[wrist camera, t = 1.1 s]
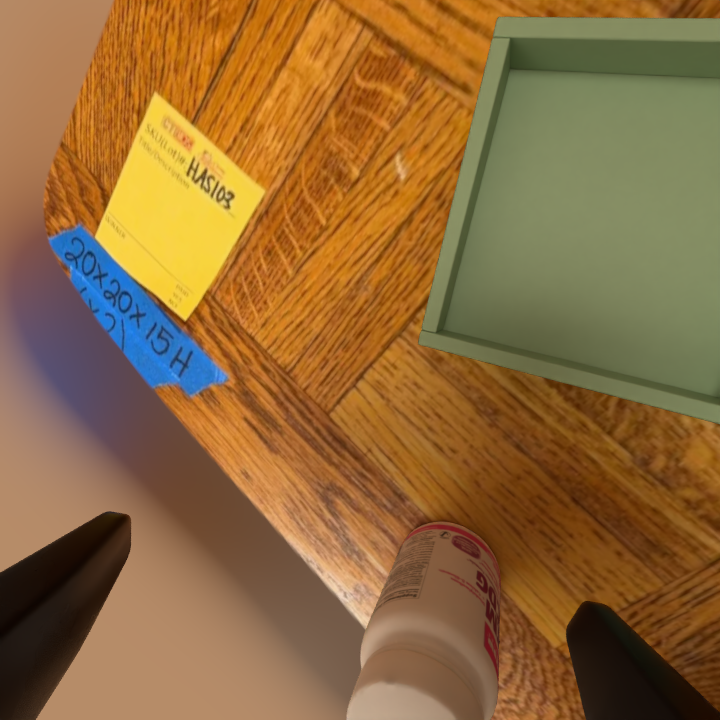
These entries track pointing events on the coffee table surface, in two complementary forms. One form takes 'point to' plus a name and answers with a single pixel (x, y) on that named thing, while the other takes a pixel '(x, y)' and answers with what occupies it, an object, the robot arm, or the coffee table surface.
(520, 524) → the coffee table surface
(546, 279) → the green tray
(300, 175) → the coffee table surface
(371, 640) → the pill bottle
